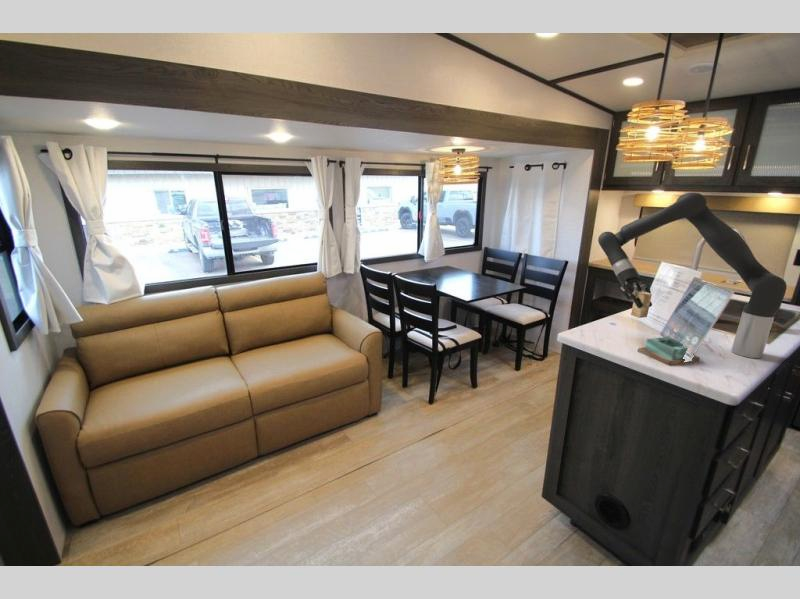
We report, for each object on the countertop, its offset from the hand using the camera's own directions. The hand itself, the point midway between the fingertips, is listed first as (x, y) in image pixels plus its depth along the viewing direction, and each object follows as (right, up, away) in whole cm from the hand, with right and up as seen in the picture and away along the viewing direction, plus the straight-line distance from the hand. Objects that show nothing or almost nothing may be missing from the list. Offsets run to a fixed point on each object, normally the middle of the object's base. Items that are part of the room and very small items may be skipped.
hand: (645, 306), depth 149 cm
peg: (-1, -4, +3) cm, 5 cm away
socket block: (+6, -20, -4) cm, 21 cm away
